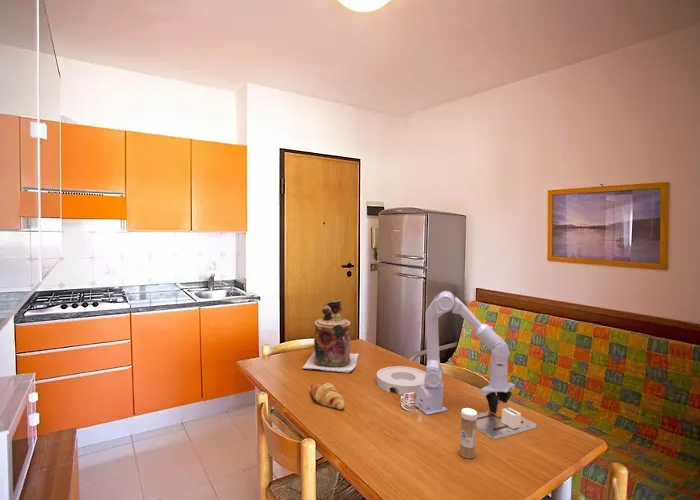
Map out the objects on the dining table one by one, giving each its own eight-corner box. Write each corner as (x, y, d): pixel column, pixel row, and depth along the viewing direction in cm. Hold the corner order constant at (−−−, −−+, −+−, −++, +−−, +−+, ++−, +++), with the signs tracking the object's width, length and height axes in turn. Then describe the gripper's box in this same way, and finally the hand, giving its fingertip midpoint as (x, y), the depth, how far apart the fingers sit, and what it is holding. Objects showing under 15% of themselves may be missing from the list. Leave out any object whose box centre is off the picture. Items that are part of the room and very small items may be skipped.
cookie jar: (313, 354, 207) (314, 294, 205) (359, 357, 204) (361, 296, 202) (301, 370, 183) (302, 302, 181) (353, 374, 179) (355, 305, 178)
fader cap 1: (498, 417, 138) (499, 403, 138) (487, 411, 143) (488, 398, 142) (505, 415, 140) (506, 402, 140) (494, 409, 144) (495, 396, 144)
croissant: (349, 418, 145) (357, 397, 147) (330, 412, 139) (339, 390, 141) (316, 397, 161) (324, 378, 163) (298, 391, 155) (307, 371, 157)
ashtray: (389, 398, 155) (389, 388, 155) (368, 377, 177) (368, 368, 177) (440, 392, 163) (440, 383, 162) (414, 372, 185) (414, 364, 184)
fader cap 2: (513, 428, 130) (513, 414, 130) (501, 422, 135) (501, 408, 134) (520, 426, 132) (521, 412, 132) (508, 420, 136) (509, 406, 136)
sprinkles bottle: (456, 455, 117) (458, 410, 116) (463, 448, 120) (465, 405, 119) (471, 461, 114) (473, 415, 113) (477, 454, 117) (479, 410, 116)
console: (495, 440, 125) (495, 436, 125) (461, 419, 139) (461, 415, 139) (537, 428, 134) (538, 424, 134) (502, 409, 148) (502, 406, 148)
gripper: (492, 381, 134) (490, 420, 134) (522, 375, 140) (520, 412, 141) (477, 374, 140) (475, 411, 141) (506, 368, 147) (504, 404, 147)
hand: (496, 411), depth 141 cm, fingers closed on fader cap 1, 3 cm apart
